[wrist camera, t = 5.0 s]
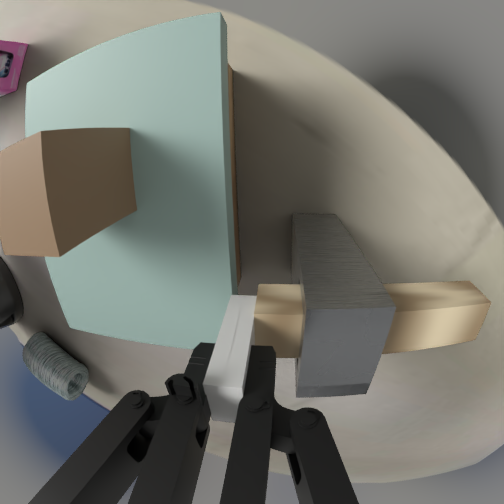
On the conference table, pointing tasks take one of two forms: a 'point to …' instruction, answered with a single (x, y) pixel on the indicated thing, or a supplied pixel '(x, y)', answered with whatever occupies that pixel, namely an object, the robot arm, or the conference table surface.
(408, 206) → the conference table surface
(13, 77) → the gum box
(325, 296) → the keeper
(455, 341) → the wooden bar
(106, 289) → the lid
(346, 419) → the conference table surface
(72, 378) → the spool
